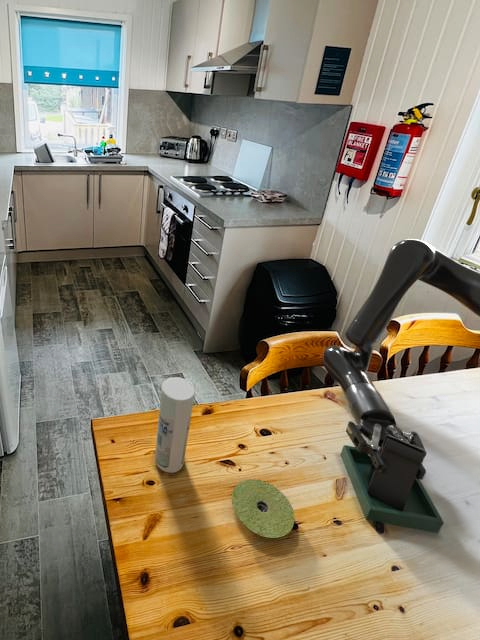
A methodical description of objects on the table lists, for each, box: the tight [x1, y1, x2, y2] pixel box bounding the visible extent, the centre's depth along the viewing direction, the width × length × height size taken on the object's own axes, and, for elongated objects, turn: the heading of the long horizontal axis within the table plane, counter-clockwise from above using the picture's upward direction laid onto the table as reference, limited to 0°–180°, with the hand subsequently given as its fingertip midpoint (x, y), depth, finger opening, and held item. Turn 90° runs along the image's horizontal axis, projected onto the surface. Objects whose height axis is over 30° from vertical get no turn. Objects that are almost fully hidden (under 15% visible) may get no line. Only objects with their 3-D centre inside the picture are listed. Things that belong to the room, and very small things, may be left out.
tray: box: [340, 444, 445, 534], centre depth 80 cm, size 13×15×3 cm
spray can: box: [154, 376, 196, 474], centre depth 81 cm, size 6×6×20 cm
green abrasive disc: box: [231, 478, 295, 539], centre depth 75 cm, size 11×11×2 cm
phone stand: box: [367, 434, 424, 511], centre depth 78 cm, size 9×6×12 cm, turn 144°
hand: (402, 473), depth 75 cm, fingers closed on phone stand, 6 cm apart
